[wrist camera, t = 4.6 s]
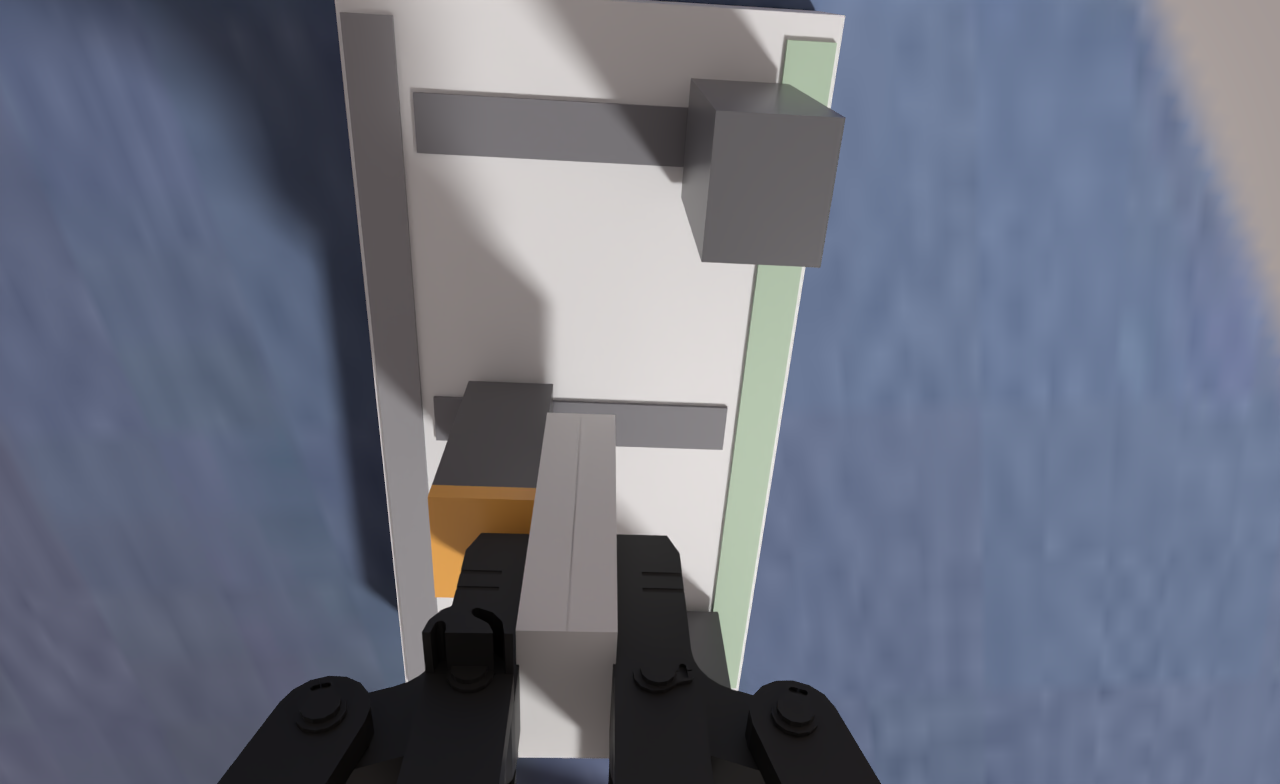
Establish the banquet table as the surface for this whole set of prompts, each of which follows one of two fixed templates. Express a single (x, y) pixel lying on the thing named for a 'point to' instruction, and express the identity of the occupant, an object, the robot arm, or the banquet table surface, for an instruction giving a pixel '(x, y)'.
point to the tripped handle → (486, 472)
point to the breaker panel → (571, 258)
